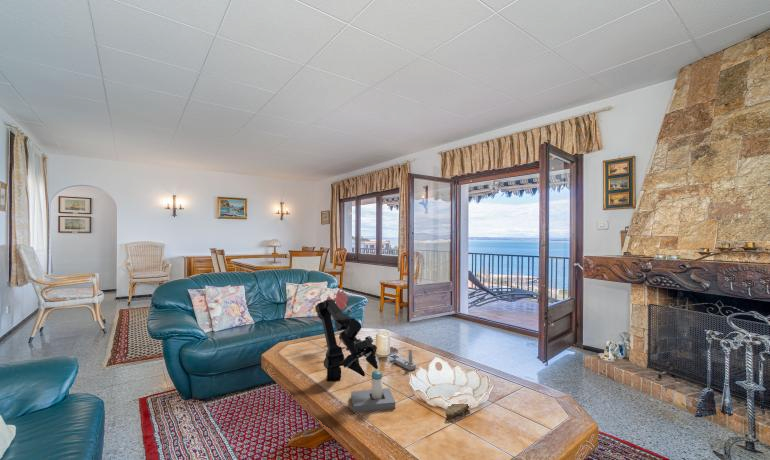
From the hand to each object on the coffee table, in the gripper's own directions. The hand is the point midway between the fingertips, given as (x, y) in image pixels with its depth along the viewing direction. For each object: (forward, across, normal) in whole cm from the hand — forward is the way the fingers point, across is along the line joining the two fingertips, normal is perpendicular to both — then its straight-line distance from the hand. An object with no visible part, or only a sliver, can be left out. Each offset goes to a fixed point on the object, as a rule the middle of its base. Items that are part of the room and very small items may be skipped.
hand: (371, 372), depth 150 cm
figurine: (-33, +48, +51) cm, 78 cm away
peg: (+11, 0, +6) cm, 12 cm away
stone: (+33, +10, -16) cm, 38 cm away
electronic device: (+4, +41, +14) cm, 44 cm away
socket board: (+10, -2, +7) cm, 12 cm away
